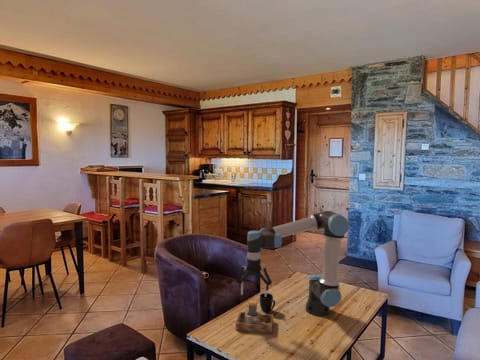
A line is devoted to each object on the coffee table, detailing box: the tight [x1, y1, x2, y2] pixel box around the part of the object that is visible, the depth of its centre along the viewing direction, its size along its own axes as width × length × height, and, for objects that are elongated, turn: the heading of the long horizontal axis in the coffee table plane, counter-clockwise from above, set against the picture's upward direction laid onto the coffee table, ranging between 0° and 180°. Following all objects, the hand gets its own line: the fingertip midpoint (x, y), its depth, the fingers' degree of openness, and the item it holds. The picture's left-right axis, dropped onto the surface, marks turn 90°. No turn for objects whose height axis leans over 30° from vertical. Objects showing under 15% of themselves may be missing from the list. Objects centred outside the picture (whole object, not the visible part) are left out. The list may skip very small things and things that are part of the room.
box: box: [235, 309, 274, 335], centre depth 186 cm, size 20×14×7 cm
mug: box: [259, 292, 276, 313], centre depth 204 cm, size 8×12×10 cm
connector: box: [248, 299, 258, 316], centre depth 186 cm, size 4×4×11 cm
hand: (253, 295), depth 185 cm, fingers open, 13 cm apart
